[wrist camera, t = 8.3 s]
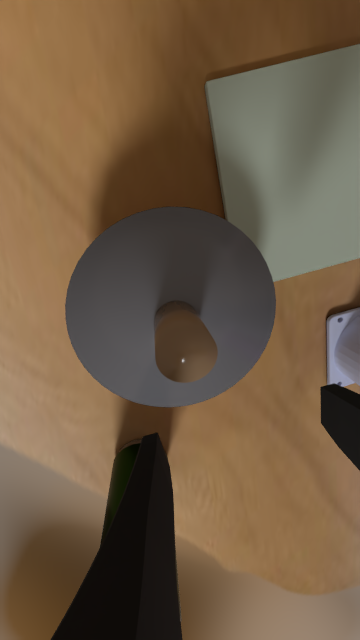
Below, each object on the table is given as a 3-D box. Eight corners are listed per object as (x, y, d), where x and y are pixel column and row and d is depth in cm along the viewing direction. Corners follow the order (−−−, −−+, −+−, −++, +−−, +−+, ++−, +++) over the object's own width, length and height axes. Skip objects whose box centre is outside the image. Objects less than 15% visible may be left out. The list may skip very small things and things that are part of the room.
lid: (264, 189, 12) (332, 161, 8) (272, 377, 16) (318, 430, 12) (35, 232, 11) (-38, 229, 7) (105, 416, 16) (88, 487, 11)
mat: (404, 37, 14) (412, 30, 14) (386, 248, 19) (392, 248, 18) (204, 86, 14) (206, 81, 13) (236, 289, 19) (238, 291, 18)
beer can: (121, 432, 22) (93, 634, 11) (174, 441, 23) (197, 630, 12) (108, 472, 24) (71, 685, 12) (158, 478, 25) (165, 678, 14)
